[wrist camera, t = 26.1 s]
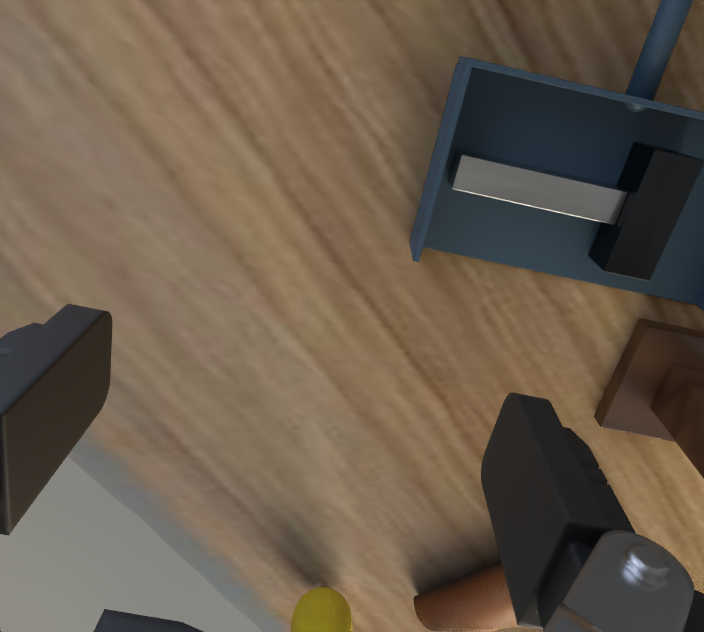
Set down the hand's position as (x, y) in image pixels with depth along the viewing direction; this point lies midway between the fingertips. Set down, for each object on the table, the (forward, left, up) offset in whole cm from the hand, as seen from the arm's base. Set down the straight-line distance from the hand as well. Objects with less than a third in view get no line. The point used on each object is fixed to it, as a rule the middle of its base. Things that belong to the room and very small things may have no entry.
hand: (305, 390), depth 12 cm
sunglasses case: (+35, +23, -30) cm, 52 cm away
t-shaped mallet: (0, +14, -30) cm, 33 cm away
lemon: (+41, +6, -30) cm, 51 cm away
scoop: (-6, +16, -30) cm, 35 cm away
